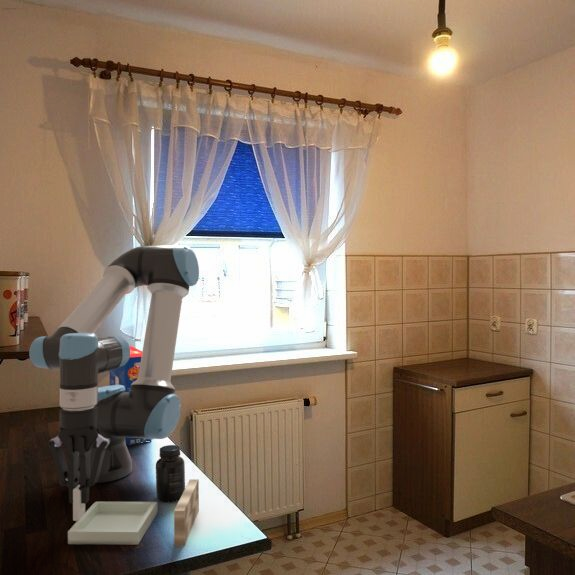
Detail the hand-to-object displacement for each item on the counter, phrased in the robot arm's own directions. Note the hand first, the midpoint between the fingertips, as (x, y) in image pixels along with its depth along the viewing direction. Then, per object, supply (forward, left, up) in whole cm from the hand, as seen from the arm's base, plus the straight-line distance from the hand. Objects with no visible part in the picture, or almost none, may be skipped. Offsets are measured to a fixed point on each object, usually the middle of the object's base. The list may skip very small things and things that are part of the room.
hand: (79, 517), depth 111 cm
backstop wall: (0, +23, -2) cm, 23 cm away
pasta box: (-69, -11, -2) cm, 70 cm away
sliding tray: (0, +8, -2) cm, 8 cm away
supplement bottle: (-15, +16, -2) cm, 22 cm away
